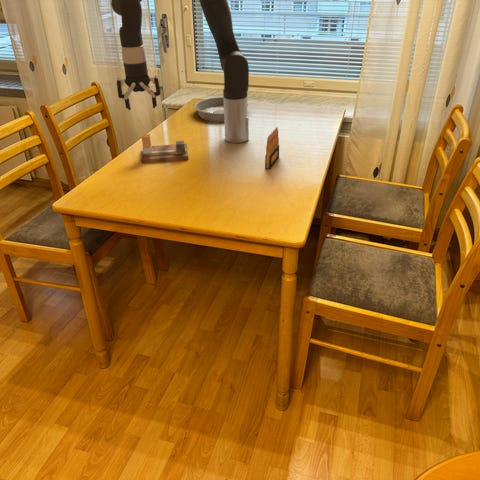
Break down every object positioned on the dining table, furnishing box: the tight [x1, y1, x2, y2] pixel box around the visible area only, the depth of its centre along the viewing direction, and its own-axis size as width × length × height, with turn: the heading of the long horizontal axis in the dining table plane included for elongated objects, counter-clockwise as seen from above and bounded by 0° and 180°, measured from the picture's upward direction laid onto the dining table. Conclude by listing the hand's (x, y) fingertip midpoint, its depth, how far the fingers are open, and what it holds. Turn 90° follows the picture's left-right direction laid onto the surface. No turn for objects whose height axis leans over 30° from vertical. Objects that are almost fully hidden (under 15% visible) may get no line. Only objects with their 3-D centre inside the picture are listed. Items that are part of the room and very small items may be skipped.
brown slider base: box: [141, 140, 189, 164], centre depth 171 cm, size 17×12×6 cm
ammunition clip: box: [264, 127, 280, 170], centre depth 162 cm, size 11×2×12 cm, turn 158°
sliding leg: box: [141, 133, 153, 154], centre depth 169 cm, size 3×7×7 cm, turn 7°
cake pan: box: [194, 96, 249, 123], centre depth 210 cm, size 25×25×4 cm
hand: (141, 108), depth 160 cm, fingers open, 8 cm apart
